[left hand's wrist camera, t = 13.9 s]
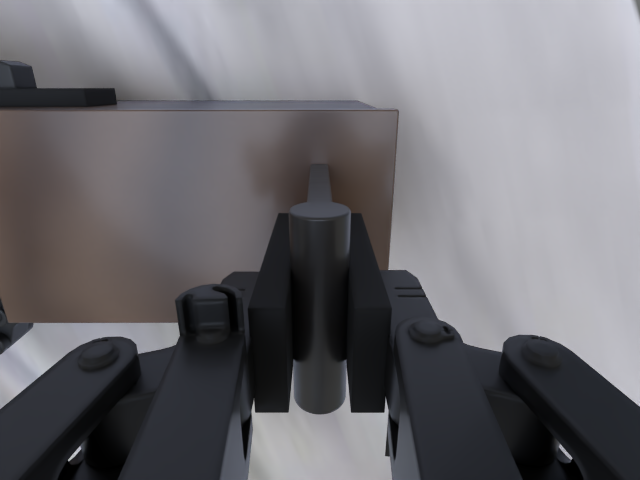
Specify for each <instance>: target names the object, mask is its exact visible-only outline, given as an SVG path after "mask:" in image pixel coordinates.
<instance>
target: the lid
mask: <svg viewBox="0 0 640 480" xmlns="http://www.w3.org/2000/svg"><path fill="white" fill-rule="evenodd" d="M398 117H399V110H397V109H393V108H290V109H0V298H1V302H2V305H3V308H4V311H5V314H6V317H7V320H8V322H9V323H178V318H177V311H176V305H175V299H176V298H177V297H178V296H179V295H180V294H181V293H183V292H185V291H187V290H189V289H191V288H194V287H198V286H201V285H208V284H221V282H222V280H223V279H224V278H225V277H227V276H228V275H230V274H231V273H232V272H234V271H260V268H261V265H262V262H263V259H264V256H265V253H266V250H267V247H268V244H269V241H270V238H271V234H272V231H273V228H274V225H275V222H276V219H277V216H278V213H289V239H290V267H291V287H292V322H293V357H294V360H293V375H294V398H295V401H296V403H297V404H298V406H299V407H300V408H301V409H303V410H305V411H306V412H309V413H312V414H327V413H331V412H333V411H335V410H337V409H338V408H339V407H340V406H341V405H342V404H343V402H344V400H345V397H346V366H347V363H346V345H347V310H348V274H349V261H350V226H351V213H361V214H362V217H363V220H364V223H365V226H366V229H367V232H368V236H369V239H370V242H371V245H372V248H373V251H374V254H375V257H376V260H377V263H378V266H379V270H388V266H389V251H390V236H391V221H392V206H393V191H394V176H395V161H396V147H397V132H398Z"/></svg>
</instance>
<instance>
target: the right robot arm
mask: <svg viewBox="0 0 640 480" xmlns="http://www.w3.org/2000/svg"><path fill="white" fill-rule="evenodd" d="M114 104H117V101H116V95H115V89H114V88H37V87H36V83H35V78H34V74H33V70H32V66H29V65H26V64H24V63H21V62H15V61H3V60H0V107H91V106H103V105H114ZM32 327H33V323H9V322H8V320H7V317H6V314H5V311H4V308H3V305H2V302H1V298H0V354H2V353H3V352H4V351H5V350H7V349H8V348H9V347H10V346H11V345H13V344H14V343H15V342H16V341H17V340H19V339H20V338H21V337H22V336H23V335H25V334H26V333H27V332H28V331H29V330H30V329H31V328H32Z"/></svg>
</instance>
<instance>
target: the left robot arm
mask: <svg viewBox="0 0 640 480" xmlns="http://www.w3.org/2000/svg"><path fill="white" fill-rule="evenodd" d="M175 305H176V311H177V318H178V325H179V332H180V337H179V339H178V342H177V344H176V345H175V346H172V347H169V348H165V349H161V350H156V351H151V352H146V353H141V354H138V351H137V346H136V344H135V343H134V342H133V341H132V340H131V339H127V338H124V337H104V338H101V339H100V338H99V339H95V340H92V341H90V342H88V343H85V344H83V345H80V346H79V347H77V348H76V349H74V350H72V351H71V352H69V353H68V354H67V355H66V356H64V357H63V358H62V359H61V360H59V361H58V362H57V363H56V364H55V365H53V366H52V367H51V368H50V369H49V370H47V371H46V372H45V373H44V374H43V375H41V376H40V377H39V378H38V379H36V380H35V381H34V382H33V383H32V384H30V385H29V386H28V387H27V388H26V389H24V390H23V391H22V392H21V393H20V394H18V395H17V396H16V397H15V398H13V399H12V400H11V401H10V402H9V403H7V404H6V405H5V406H4V407H3V408H1V409H0V480H248V471H249V461H250V452H251V442H252V432H253V427H252V414H251V410H252V405H253V400H254V402H255V413H266V412H289V402H290V391H291V381H292V370H293V360H294V357H293V322H292V287H291V267H290V239H289V213H278V216H277V219H276V222H275V225H274V228H273V231H272V234H271V238H270V241H269V244H268V247H267V250H266V253H265V256H264V259H263V262H262V265H261V268H260V271H234V272H232V273H231V274H230V275H228V276H227V277H225V278H224V279H223V280H222V282H221V284H208V285H201V286H198V287H194V288H191V289H189V290H187V291H185V292H183V293H181V294H180V295H179V296H178V297H177V298H176V299H175ZM346 363H347V374H348V384H349V395H350V405H351V413H384V411H385V397H386V400H387V405H388V409H389V414H388V427H387V440H386V452H385V456H390V461H391V470H392V480H640V407H639V406H638V405H637V404H636V403H634V402H633V401H632V400H631V399H629V398H628V397H627V396H626V395H625V394H623V393H622V392H621V391H620V390H618V389H617V388H616V387H615V386H614V385H612V384H611V383H610V382H609V381H607V380H606V379H605V378H604V377H603V376H601V375H600V374H599V373H598V372H597V371H595V370H594V369H593V368H592V367H590V366H589V365H588V364H587V363H586V362H584V361H583V360H582V359H581V358H579V357H578V356H577V355H576V354H575V353H573V352H572V351H571V350H569V349H567V348H566V347H564V346H563V345H561V344H559V343H557V342H554V341H552V340H549V339H548V338H545V337H541V336H540V337H538V336H535V335H517V336H513V337H509V338H508V339H507V340H506V341H505V342H504V344H503V349H502V352H497V351H492V350H487V349H482V348H478V347H474V346H470V345H467V344H465V343H463V341H462V339H461V336H460V334H459V333H458V332H457V331H456V329H455V328H454V327H452V326H451V325H449V324H447V323H446V322H443V321H440V320H438V318H437V316H436V314H435V312H434V310H433V308H432V306H431V304H430V302H429V300H428V298H427V297H426V295H425V293H424V291H423V289H422V287H421V285H420V283H419V281H418V279H417V278H416V277H415V276H413V275H412V274H411V273H409V272H408V271H406V270H379V266H378V263H377V260H376V257H375V254H374V251H373V248H372V245H371V242H370V239H369V236H368V232H367V229H366V226H365V223H364V220H363V217H362V214H361V213H351V226H350V261H349V274H348V310H347V345H346ZM560 444H561V445H562V446H563V447H564V449H565V450H566V451H567V452H568V453H569V454H570V455H571V457H572V458H573V459H572V460H570V459H569V458H568V457H567V456H566V455H565V454H564V453H563V452H562V451H561V449H560V448H559V445H560ZM79 446H81V450H80V451H79V452H78V454H77V455H76V456H75V457H74V458H73V459H71V460H70V461H68V459H69V458H70V457H71V456H72V454H73V453H74V452H75V451H76V450H77V449H78V447H79Z"/></svg>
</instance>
